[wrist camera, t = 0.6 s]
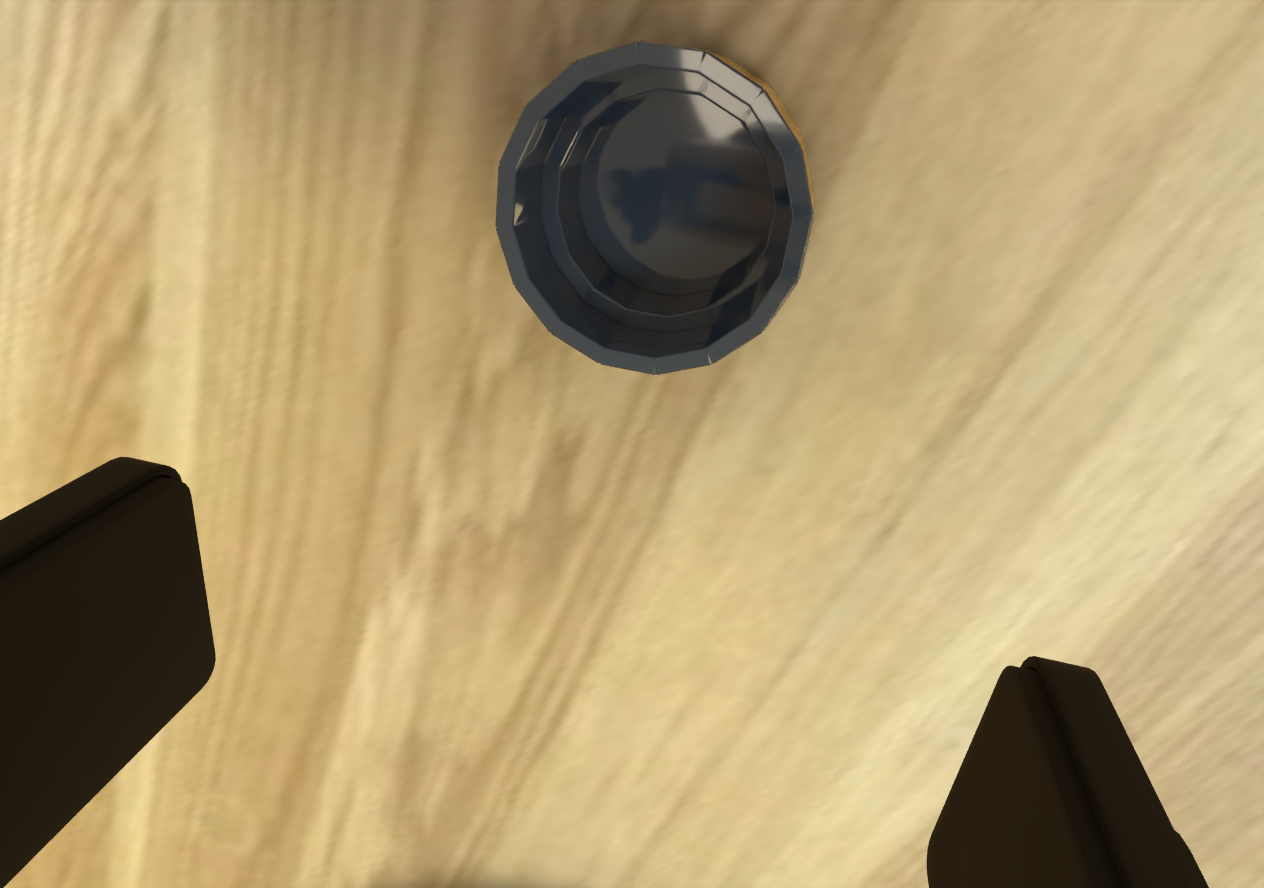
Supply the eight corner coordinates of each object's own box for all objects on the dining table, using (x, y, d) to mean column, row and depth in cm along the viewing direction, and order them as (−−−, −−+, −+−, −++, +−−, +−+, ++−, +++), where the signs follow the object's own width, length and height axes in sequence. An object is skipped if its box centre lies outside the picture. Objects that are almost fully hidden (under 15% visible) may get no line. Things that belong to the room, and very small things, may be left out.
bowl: (565, 34, 20) (504, 21, 16) (838, 72, 19) (847, 69, 15) (544, 297, 23) (488, 343, 19) (778, 341, 23) (772, 398, 18)
